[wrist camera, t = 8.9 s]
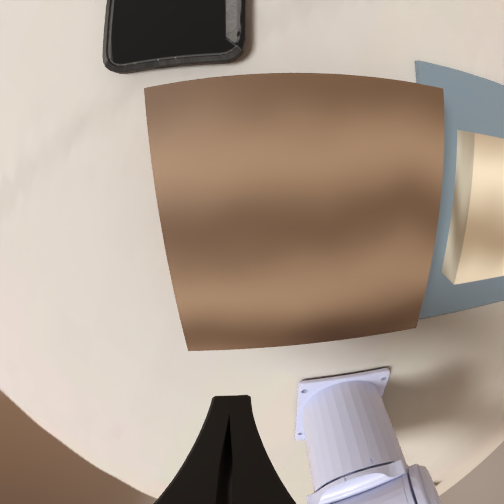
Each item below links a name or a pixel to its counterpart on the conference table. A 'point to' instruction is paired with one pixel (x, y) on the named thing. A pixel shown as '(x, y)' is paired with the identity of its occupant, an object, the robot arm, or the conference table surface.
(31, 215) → the conference table surface
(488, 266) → the birch block
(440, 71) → the rubber mat
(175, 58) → the phone
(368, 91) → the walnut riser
